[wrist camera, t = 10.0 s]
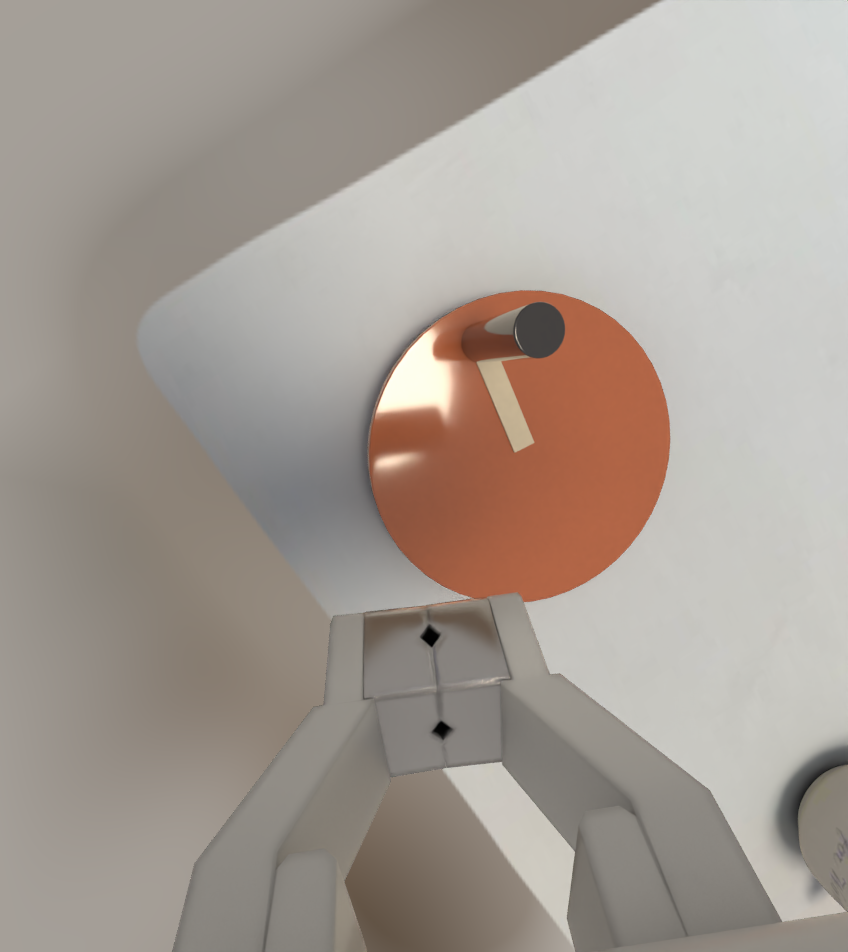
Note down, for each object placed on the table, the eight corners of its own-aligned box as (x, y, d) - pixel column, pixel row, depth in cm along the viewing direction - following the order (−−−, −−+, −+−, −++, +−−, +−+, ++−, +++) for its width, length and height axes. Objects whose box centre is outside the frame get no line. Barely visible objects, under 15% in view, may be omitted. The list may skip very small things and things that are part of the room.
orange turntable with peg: (306, 504, 28) (295, 565, 19) (480, 225, 27) (554, 152, 18) (551, 641, 32) (635, 744, 23) (711, 405, 31) (864, 418, 22)
